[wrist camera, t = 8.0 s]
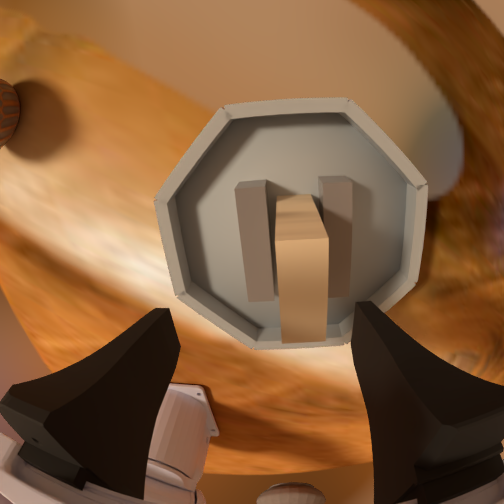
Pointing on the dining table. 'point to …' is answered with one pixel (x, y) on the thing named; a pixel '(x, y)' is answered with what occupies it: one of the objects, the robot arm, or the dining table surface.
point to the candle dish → (264, 214)
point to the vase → (8, 111)
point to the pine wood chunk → (301, 269)
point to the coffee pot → (291, 494)
